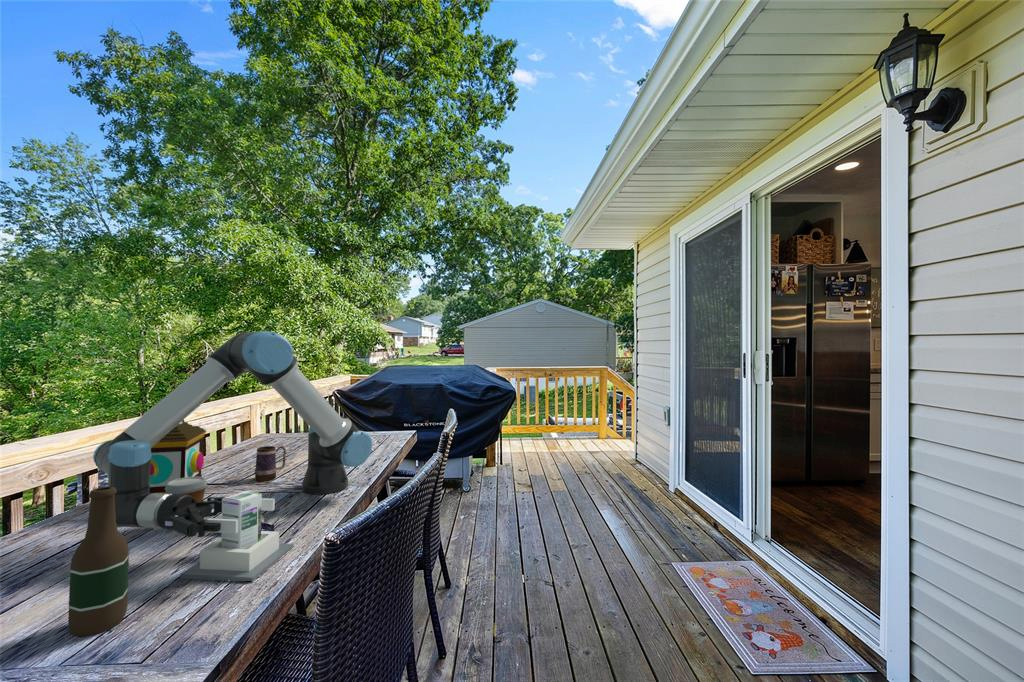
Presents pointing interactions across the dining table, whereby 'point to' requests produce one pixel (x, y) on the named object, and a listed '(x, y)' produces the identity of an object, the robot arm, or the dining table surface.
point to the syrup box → (242, 519)
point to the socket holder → (238, 560)
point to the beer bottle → (99, 570)
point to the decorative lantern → (176, 456)
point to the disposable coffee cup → (188, 487)
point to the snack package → (266, 525)
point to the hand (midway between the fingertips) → (256, 515)
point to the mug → (267, 463)
